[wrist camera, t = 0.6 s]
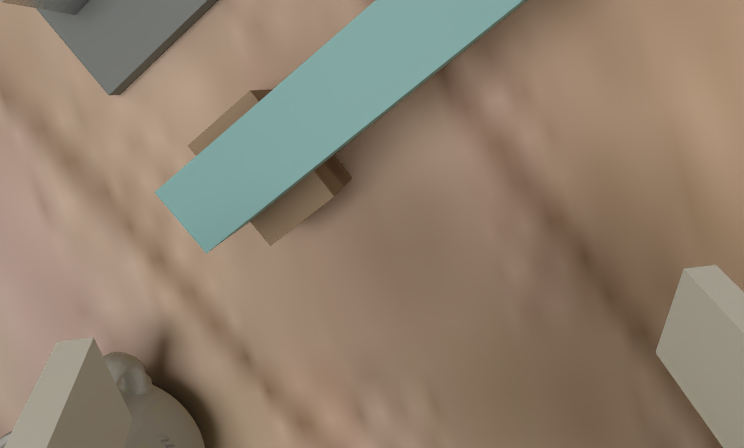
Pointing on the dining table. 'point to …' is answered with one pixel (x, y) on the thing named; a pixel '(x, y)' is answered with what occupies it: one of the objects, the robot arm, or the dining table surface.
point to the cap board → (124, 35)
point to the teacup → (148, 409)
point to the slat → (322, 109)
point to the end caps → (52, 5)
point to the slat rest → (298, 198)
